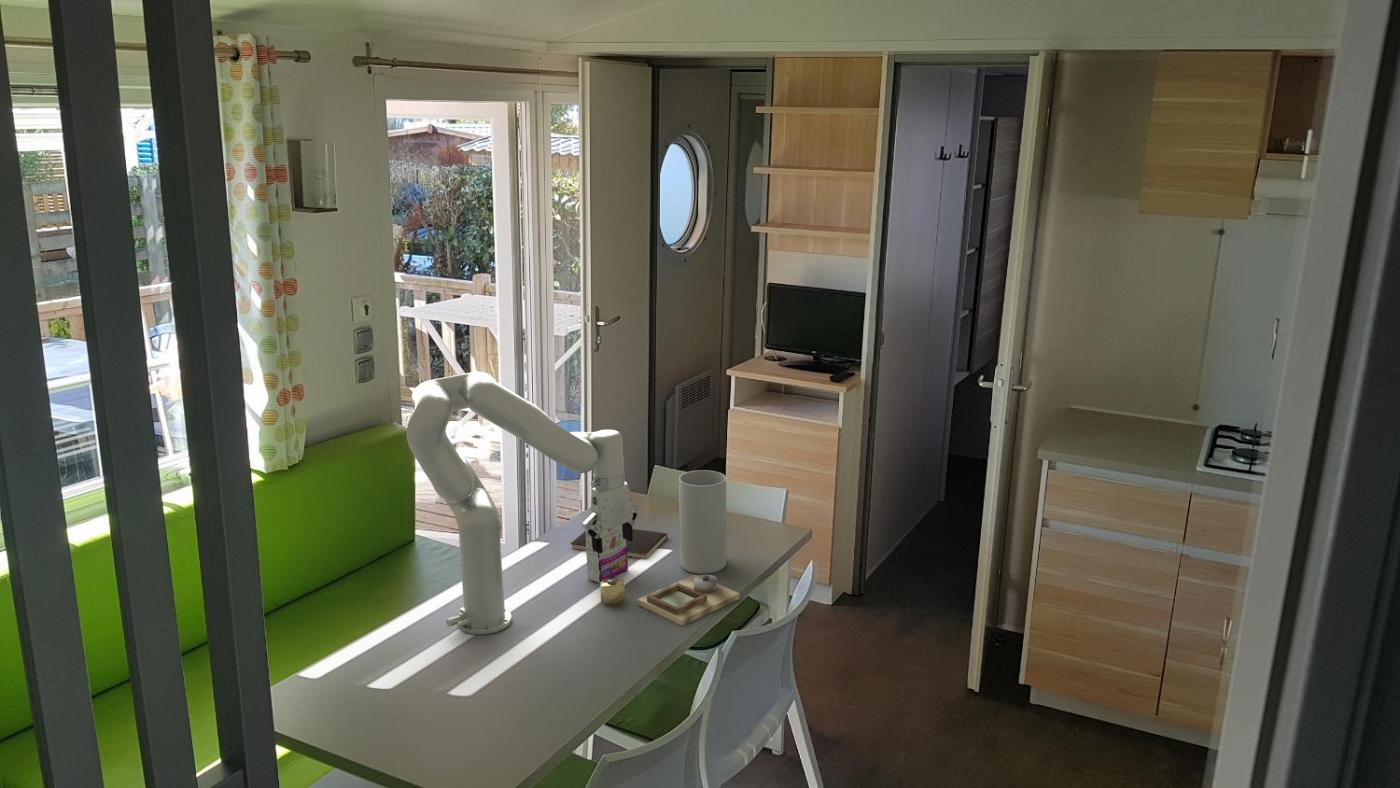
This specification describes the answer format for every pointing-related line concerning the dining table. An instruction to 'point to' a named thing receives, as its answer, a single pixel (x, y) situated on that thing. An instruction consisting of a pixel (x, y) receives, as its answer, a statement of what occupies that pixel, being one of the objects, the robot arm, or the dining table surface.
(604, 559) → the candy bar box
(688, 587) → the carrier
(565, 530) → the dining table surface
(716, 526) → the cylinder vase
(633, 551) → the hardcover book
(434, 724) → the dining table surface
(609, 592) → the gold round vessel
